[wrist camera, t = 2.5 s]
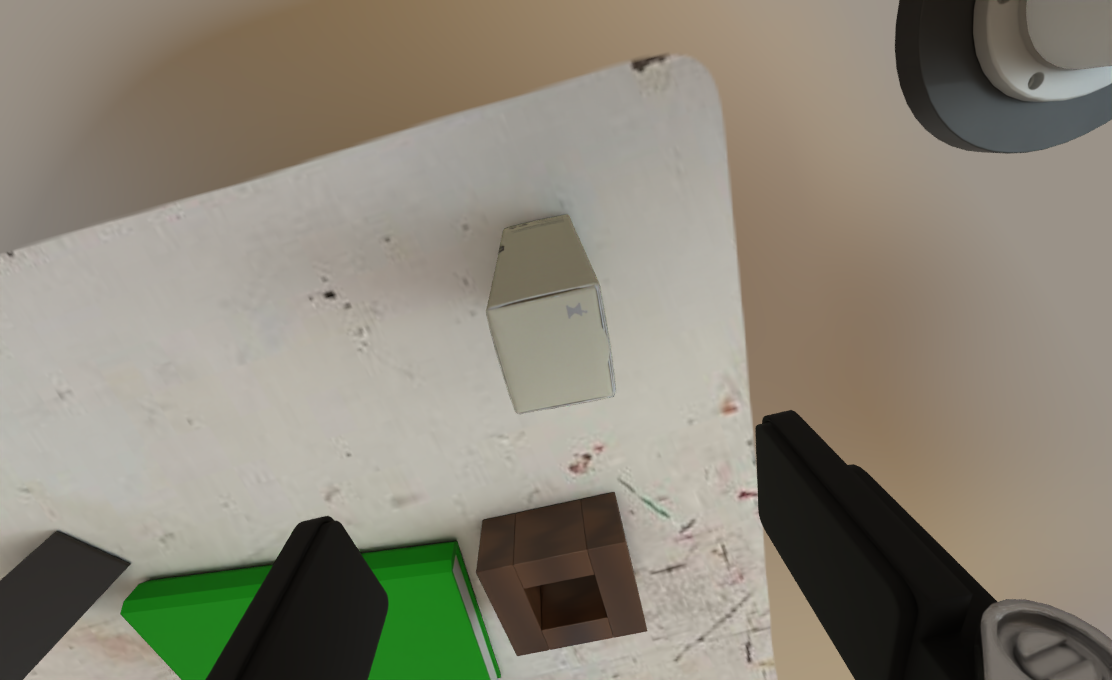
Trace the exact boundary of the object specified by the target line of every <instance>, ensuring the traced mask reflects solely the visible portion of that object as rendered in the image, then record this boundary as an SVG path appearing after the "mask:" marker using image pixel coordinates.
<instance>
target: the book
mask: <svg viewBox="0 0 1112 680" xmlns="http://www.w3.org/2000/svg"><path fill="white" fill-rule="evenodd" d="M361 555H362V556H363V558H364V559H365V561H366V562H367V564H368V565H369V567H370V568H371V570H372V571H373V573H374V575H375V576H376V578H377V579H378V581H379V582H380V584H381V585H382V587H383V588H384V590H385V591H386V593H387V595H388V601H389V606H388V612H387V616H386V619H385V623H384V626H383V629H382V633H381V636H380V640H379V643H378V647H377V650H376V654H375V657H374V660H373V664H372V667H371V671H370V674H369V678H368V680H497V678H501V674H500V671H499V668H498V665H497V662H496V659H495V656H494V653H493V649H492V646H491V643H490V640H489V637H488V634H487V631H486V628H485V625H484V622H483V619H482V616H481V613H480V610H479V607H478V604H477V601H476V598H475V595H474V591H473V588H472V585H471V582H470V579H469V576H468V573H467V570H466V567H465V564H464V561H463V558H462V555H461V552H460V549H459V546H458V543H457V541H453V542H445V543H438V544H430V545H422V546H414V547H406V548H398V549H391V550H383V551H375V552H367V553H361ZM272 566H273V565H266V566H258V567H250V568H242V569H235V570H227V571H219V572H211V573H203V574H196V575H188V576H180V577H172V578H164V579H156V580H149V581H146V582H143V583H140V584H139V585H138V586H137V587H136V588H135V589H134V590H133V591H132V593H131V594H130V595H129V596H128V597H127V598H126V599H125V601H124V603H123V606H122V610H121V613H120V614H121V615H122V616H123V617H124V619H125V620H126V621H127V622H128V623H129V624H130V625H131V626H132V627H133V628H134V629H135V630H136V631H137V632H138V634H139V635H140V636H141V637H142V638H143V639H144V640H145V641H146V642H147V643H148V644H149V645H150V646H151V647H152V649H153V650H154V651H155V652H156V653H157V654H158V655H159V656H160V657H161V658H162V659H163V660H164V661H165V662H166V664H167V665H168V666H169V667H170V668H171V669H172V670H173V671H174V672H175V673H176V674H177V675H178V676H179V677H180V679H181V680H206V678H207V676H208V674H209V673H210V671H211V669H212V668H213V666H214V664H215V663H216V661H217V659H218V658H219V656H220V654H221V652H222V651H223V649H224V647H225V646H226V644H227V642H228V641H229V639H230V637H231V635H232V634H233V632H234V630H235V629H236V627H237V625H238V624H239V622H240V620H241V618H242V617H243V615H244V613H245V612H246V610H247V608H248V607H249V605H250V603H251V601H252V600H253V598H254V596H255V595H256V593H257V591H258V590H259V588H260V586H261V585H262V583H263V581H264V579H265V578H266V576H267V574H268V573H269V571H270V569H271V568H272Z"/></svg>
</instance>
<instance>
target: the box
mask: <svg viewBox="0 0 1112 680" xmlns="http://www.w3.org/2000/svg"><path fill="white" fill-rule="evenodd" d="M486 315H487V319H488V324H489V328H490V332H491V336H492V339H493V343H494V347H495V350H496V354H497V357H498V361H499V364H500V368H501V371H502V374H503V377H504V380H505V384H506V387H507V390H508V393H509V396H510V399H511V401H512V404H513V407H514V410H515V412H516V413H517V414H524V413H529V412H534V411H540V410H546V409H553V408H557V407H564V406H570V405H575V404H580V403H586V402H591V401H596V400H601V399H606V398H611V397H614V395H615V393H616V385H615V375H614V368H613V360H612V353H611V346H610V340H609V334H608V328H607V322H606V316H605V311H604V305H603V300H602V294H601V288H600V285H599V282H598V280H597V277H596V275H595V273H594V271H593V268H592V266H591V264H590V261H589V259H588V257H587V255H586V252H585V250H584V248H583V246H582V244H581V242H580V239H579V237H578V235H577V233H576V230H575V228H574V226H573V224H572V221H571V219H570V216H569V215H567V214H566V215H561V216H556V217H551V218H546V219H542V220H537V221H533V222H528V223H524V224H520V225H516V226H512V227H508V228H505V229H504V230H503V233H502V238H501V243H500V248H499V253H498V258H497V262H496V267H495V272H494V277H493V281H492V286H491V291H490V296H489V300H488V305H487V309H486Z"/></svg>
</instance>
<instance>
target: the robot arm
mask: <svg viewBox="0 0 1112 680" xmlns="http://www.w3.org/2000/svg"><path fill="white" fill-rule="evenodd" d="M973 36H974V43H975V50H976V55H977V58H978V60H979V63H980V65H981V68H982V70H983V73H984V74H985V75H986V77H987V78H988V79H989V80H990V82H991V83H992V84H993V86H994V87H996V88H997V89H999V90H1000V91H1001V92H1003V93H1004V94H1006V95H1007V96H1010V97H1013V98H1016V99H1019V100H1022V101H1031V102H1049V101H1062V100H1068V99H1072V98H1076V97H1080V96H1084V95H1087V94H1090V93H1092V92H1094V91H1097V90H1099V89H1101V88H1104V87H1106V86H1108V85H1110V84H1111V83H1112V0H976V1H975V6H974V21H973ZM756 456H757V483H758V510H759V516H760V520H761V523H762V525H763V527H764V529H765V531H766V533H767V534H768V536H769V537H770V539H771V541H772V543H773V544H774V546H775V547H776V549H777V551H778V553H779V554H780V556H781V558H782V559H783V561H784V563H785V564H786V566H787V567H788V569H789V571H790V572H791V574H792V576H793V577H794V579H795V581H796V582H797V584H798V585H799V587H800V589H801V591H802V592H803V594H804V596H805V597H806V599H807V601H808V602H809V604H810V606H811V607H812V609H813V610H814V612H815V614H816V616H817V617H818V619H819V621H820V622H821V624H822V625H823V627H824V629H825V630H826V632H827V634H828V635H829V637H830V639H831V640H832V642H833V644H834V645H835V647H836V649H837V650H838V652H839V654H840V655H841V657H842V659H843V660H844V662H845V664H846V665H847V667H848V669H849V670H850V672H851V674H852V675H853V677H854V679H855V680H1112V640H1111V639H1110V638H1109V637H1108V636H1106V635H1105V634H1104V633H1102V632H1101V631H1100V630H1098V629H1097V628H1095V627H1093V626H1091V625H1090V624H1088V623H1087V622H1085V621H1083V620H1081V619H1080V618H1078V617H1076V616H1075V615H1072V614H1070V613H1067V612H1065V611H1063V610H1060V609H1058V608H1055V607H1053V606H1050V605H1047V604H1043V603H1038V602H1034V601H1030V600H1016V599H1006V600H1003V601H1000V602H997V601H996V600H995V599H994V598H993V597H992V596H991V595H990V594H989V593H988V592H987V591H986V590H985V589H984V588H983V587H982V586H981V585H980V584H979V583H978V582H977V581H976V580H975V579H974V578H973V577H972V576H971V575H970V574H969V573H968V572H967V571H966V570H965V569H964V568H963V567H962V566H961V565H960V564H959V563H958V562H957V561H956V560H955V559H954V558H953V557H952V556H951V555H950V554H949V553H948V552H946V550H945V549H944V548H943V547H942V546H941V545H940V544H939V543H938V542H936V540H935V539H934V538H933V537H931V535H930V534H928V533H927V531H925V529H923V528H922V527H921V526H920V525H919V524H918V523H917V522H916V521H915V520H914V519H913V518H912V517H911V516H910V515H909V514H908V513H907V512H906V511H905V510H904V509H903V508H902V507H901V506H900V505H899V504H898V503H897V502H896V501H895V500H894V499H893V498H892V497H891V496H890V495H889V494H888V493H887V492H886V491H885V490H884V489H883V488H882V487H881V486H880V485H879V484H878V483H877V482H876V481H875V480H874V479H873V478H872V477H871V476H870V475H869V474H868V473H867V472H865V471H864V470H863V469H862V468H861V467H859V466H856V465H847V464H846V463H845V462H844V461H843V460H842V459H841V458H840V457H839V456H838V455H837V454H836V453H835V452H834V451H833V450H832V449H831V448H830V447H829V446H828V445H827V444H826V442H824V440H823V439H821V437H820V436H819V435H818V434H817V433H816V432H815V431H814V430H813V429H812V428H811V427H810V426H809V425H808V424H807V423H806V422H805V421H804V420H803V419H802V418H801V417H800V416H799V415H798V414H797V413H796V412H795V411H792V410H789V411H785V412H780V413H776V414H772V415H767V416H764V418H763V420H762V424H759V425H757V426H756ZM388 606H389V601H388V595H387V593H386V591H385V590H384V588H383V587H382V585H381V584H380V582H379V581H378V579H377V578H376V576H375V575H374V573H373V571H372V570H371V568H370V567H369V565H368V564H367V562H366V561H365V559H364V558H363V556H362V555H361V553H360V552H359V550H358V549H357V547H356V545H355V544H354V542H353V541H352V539H351V538H350V536H349V535H348V533H347V532H346V530H345V529H344V527H343V526H342V524H341V523H340V522H338V521H334V520H333V519H332V518H331V517H329V516H325V517H320V518H316V519H311V520H307V521H303V522H301V523H299V524H298V525H297V526H296V527H295V529H294V530H293V532H292V534H291V535H290V537H289V539H288V540H287V542H286V544H285V545H284V547H283V549H282V551H281V552H280V554H279V556H278V557H277V559H276V561H275V562H274V564H273V566H272V568H271V569H270V571H269V573H268V574H267V576H266V578H265V579H264V581H263V583H262V585H261V586H260V588H259V590H258V591H257V593H256V595H255V596H254V598H253V600H252V601H251V603H250V605H249V607H248V608H247V610H246V612H245V613H244V615H243V617H242V618H241V620H240V622H239V624H238V625H237V627H236V629H235V630H234V632H233V634H232V635H231V637H230V639H229V641H228V642H227V644H226V646H225V647H224V649H223V651H222V652H221V654H220V656H219V658H218V659H217V661H216V663H215V664H214V666H213V668H212V669H211V671H210V673H209V674H208V676H207V678H206V680H368V678H369V674H370V671H371V667H372V664H373V660H374V657H375V654H376V650H377V647H378V643H379V640H380V636H381V633H382V629H383V626H384V623H385V619H386V616H387V612H388Z"/></svg>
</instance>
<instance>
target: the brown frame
mask: <svg viewBox="0 0 1112 680" xmlns="http://www.w3.org/2000/svg"><path fill="white" fill-rule="evenodd" d="M476 574H477V576H478V578H479V580H480V582H481V584H482V586H483V588H484V590H485V592H486V594H487V596H488V598H489V600H490V602H491V604H492V606H493V608H494V610H495V612H496V614H497V616H498V618H499V620H500V622H501V624H502V626H503V628H504V630H505V632H506V634H507V636H508V638H509V640H510V643H511V645H512V647H513V649H514V651H515V653H516V655H517V656H521V655H526V654H531V653H536V652H541V651H547V650H549V649H550V650H552V649H557V648H562V647H567V646H573V645H578V644H583V643H588V642H593V641H598V640H604V639H609V638H613V637H614V638H615V637H620V636H625V635H630V634H636V633H641V632H646V631H647V627H646V623H645V619H644V614H643V610H642V606H641V601H640V597H639V592H638V588H637V584H636V579H635V575H634V571H633V567H632V563H631V559H630V554H629V550H628V546H627V542H626V538H625V533H624V529H623V525H622V521H621V517H620V512H619V508H618V504H617V500H616V496H615V492H613V493H608V494H603V495H598V496H594V497H589V498H584V499H581V500H575V501H571V502H566V503H561V504H557V505H552V506H547V507H542V508H538V509H533V510H528V511H524V512H519V513H516V514H510V515H505V516H500V517H496V518H491V519H486V520H483V522H482V530H481V538H480V545H479V553H478V561H477V569H476Z"/></svg>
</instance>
